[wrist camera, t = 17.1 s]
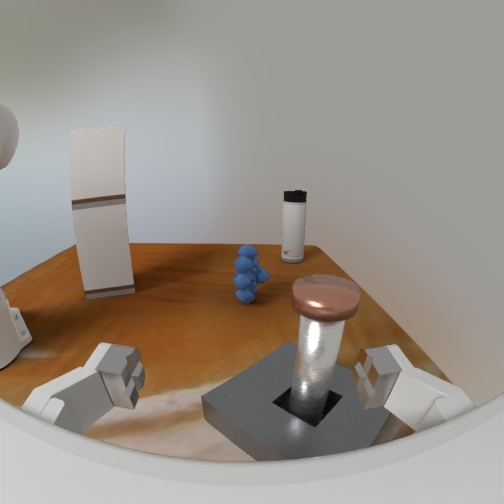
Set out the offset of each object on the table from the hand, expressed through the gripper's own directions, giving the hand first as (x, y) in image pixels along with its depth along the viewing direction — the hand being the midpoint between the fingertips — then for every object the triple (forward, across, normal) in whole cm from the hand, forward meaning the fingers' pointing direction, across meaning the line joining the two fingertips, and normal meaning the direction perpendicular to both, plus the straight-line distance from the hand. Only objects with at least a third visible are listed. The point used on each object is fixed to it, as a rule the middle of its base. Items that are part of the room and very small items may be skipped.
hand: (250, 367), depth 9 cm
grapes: (+39, -2, +19) cm, 44 cm away
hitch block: (+10, -6, +18) cm, 22 cm away
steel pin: (+10, -6, +18) cm, 22 cm away
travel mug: (+65, -14, +19) cm, 70 cm away
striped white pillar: (+45, +31, +20) cm, 58 cm away
